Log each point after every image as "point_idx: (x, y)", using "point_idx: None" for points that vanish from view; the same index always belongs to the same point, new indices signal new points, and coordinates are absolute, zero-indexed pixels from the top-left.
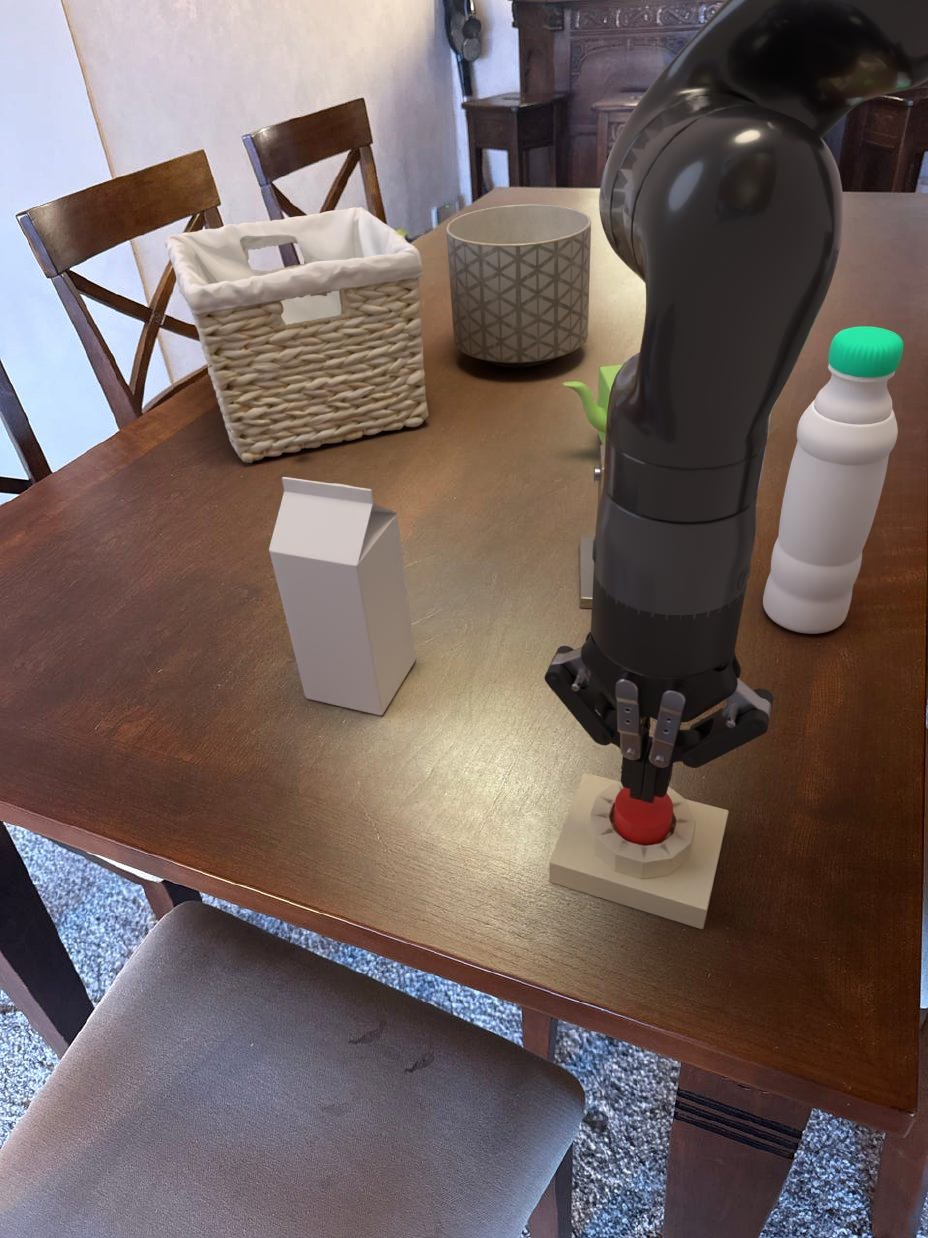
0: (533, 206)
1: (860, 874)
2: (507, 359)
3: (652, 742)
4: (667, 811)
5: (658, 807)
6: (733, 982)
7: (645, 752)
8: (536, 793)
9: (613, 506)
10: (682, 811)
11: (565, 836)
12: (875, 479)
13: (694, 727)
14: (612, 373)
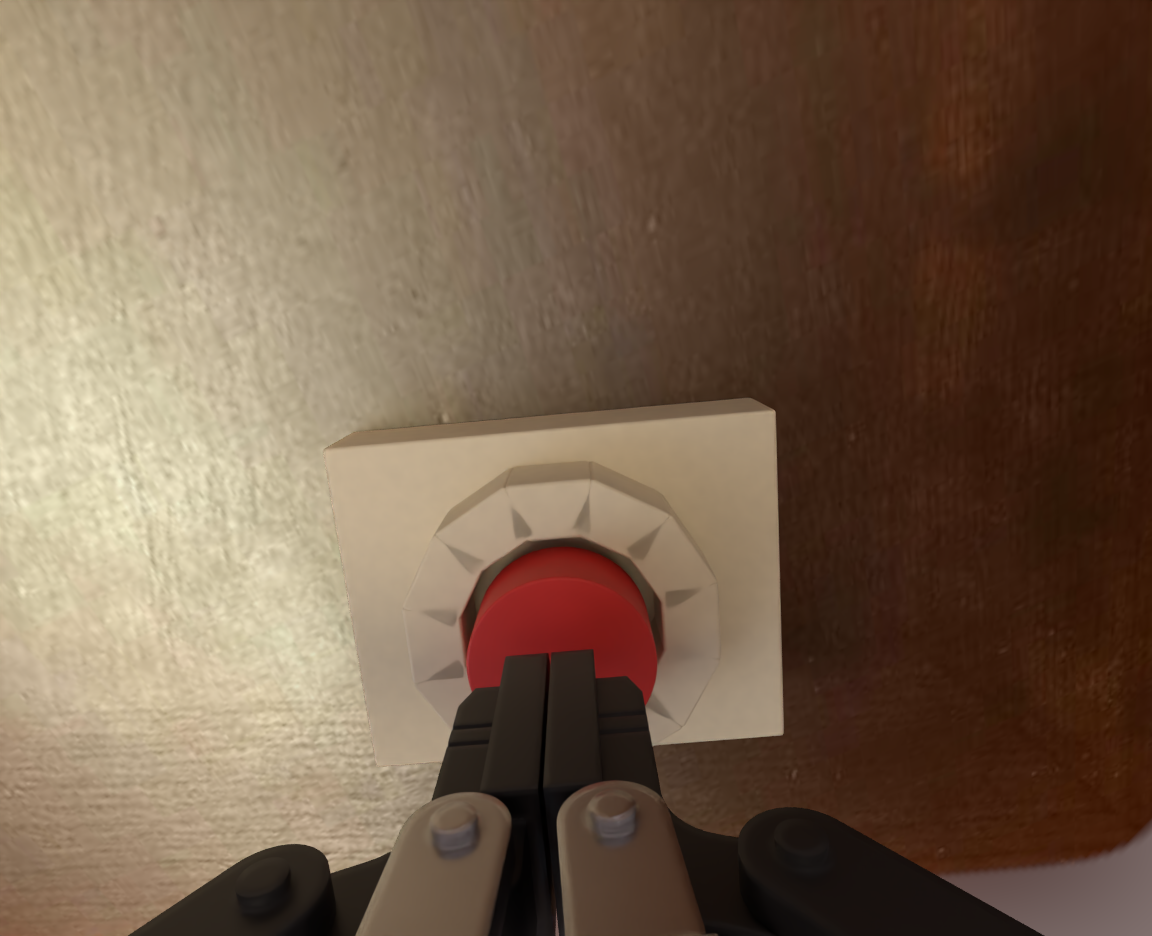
0: None
1: (1102, 386)
2: None
3: (547, 822)
4: (640, 662)
5: (608, 658)
6: (844, 768)
7: (537, 891)
8: (237, 488)
9: None
10: (668, 562)
11: (378, 683)
12: None
13: (787, 933)
14: None
